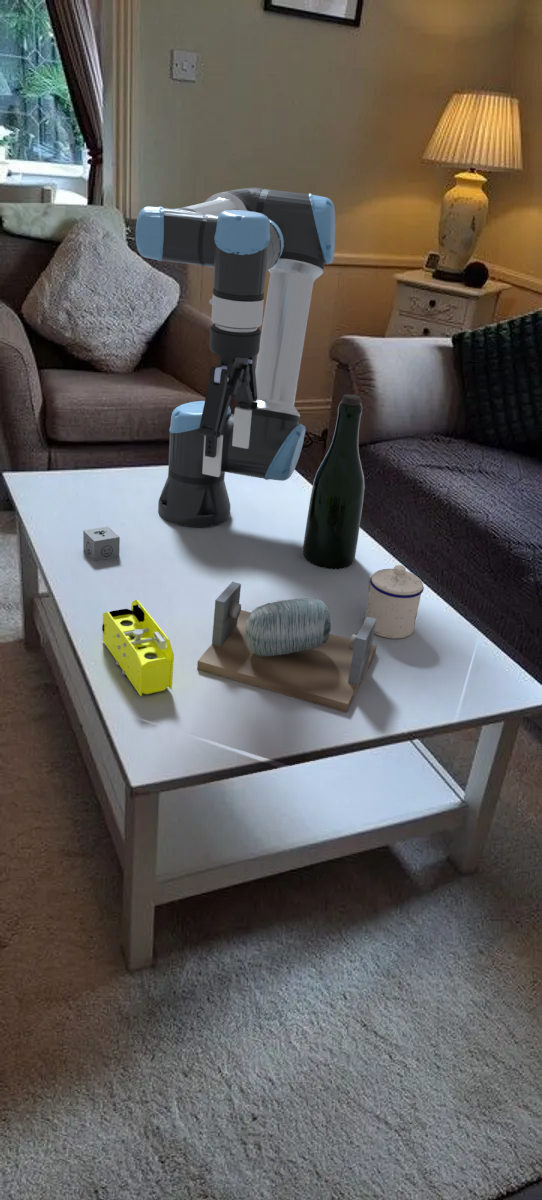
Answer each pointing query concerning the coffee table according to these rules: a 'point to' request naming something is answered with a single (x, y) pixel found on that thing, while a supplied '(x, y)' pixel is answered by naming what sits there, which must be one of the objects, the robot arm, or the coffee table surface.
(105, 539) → the dice cube
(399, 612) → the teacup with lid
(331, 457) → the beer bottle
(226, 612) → the roll holder
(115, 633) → the yellow toy chassis
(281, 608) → the grey egg-shaped piece
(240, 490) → the coffee table surface
